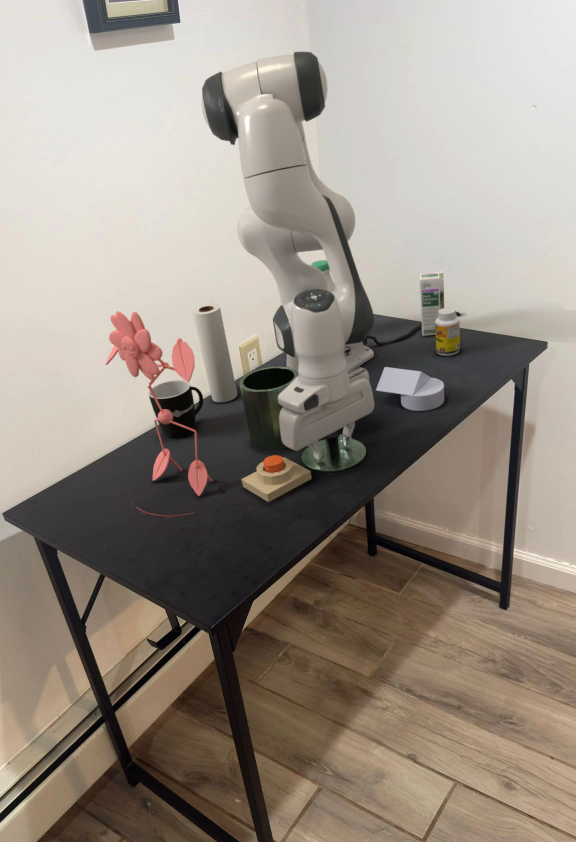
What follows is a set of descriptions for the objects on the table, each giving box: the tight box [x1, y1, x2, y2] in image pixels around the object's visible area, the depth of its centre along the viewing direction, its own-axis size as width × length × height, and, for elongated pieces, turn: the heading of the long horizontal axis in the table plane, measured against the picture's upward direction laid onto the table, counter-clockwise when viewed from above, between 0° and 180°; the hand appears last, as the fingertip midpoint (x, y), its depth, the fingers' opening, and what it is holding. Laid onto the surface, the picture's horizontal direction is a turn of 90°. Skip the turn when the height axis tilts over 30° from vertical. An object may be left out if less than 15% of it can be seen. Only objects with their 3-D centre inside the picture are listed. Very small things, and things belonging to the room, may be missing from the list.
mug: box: [148, 379, 204, 439], centre depth 155 cm, size 12×9×10 cm
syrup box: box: [419, 270, 445, 337], centre depth 179 cm, size 6×6×14 cm
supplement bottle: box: [435, 307, 461, 357], centre depth 169 cm, size 6×6×10 cm
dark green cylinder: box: [239, 365, 298, 452], centre depth 144 cm, size 11×12×14 cm
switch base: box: [241, 457, 313, 503], centre depth 132 cm, size 10×8×4 cm
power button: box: [262, 454, 284, 473], centre depth 130 cm, size 4×4×2 cm
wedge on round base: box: [375, 366, 445, 412], centre depth 152 cm, size 9×7×13 cm
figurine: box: [105, 310, 214, 519], centre depth 126 cm, size 15×26×35 cm, turn 48°
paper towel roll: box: [192, 301, 238, 403], centre depth 163 cm, size 7×6×21 cm
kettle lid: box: [300, 431, 367, 474], centre depth 136 cm, size 12×12×5 cm
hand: (333, 450), depth 137 cm, fingers open, 5 cm apart
